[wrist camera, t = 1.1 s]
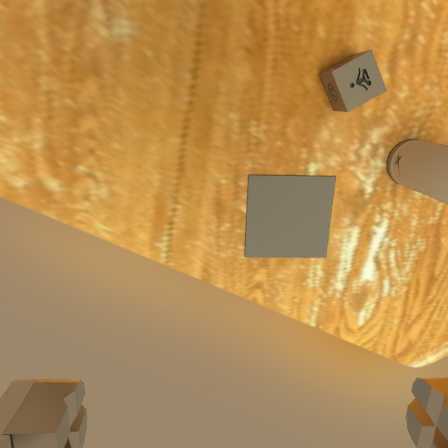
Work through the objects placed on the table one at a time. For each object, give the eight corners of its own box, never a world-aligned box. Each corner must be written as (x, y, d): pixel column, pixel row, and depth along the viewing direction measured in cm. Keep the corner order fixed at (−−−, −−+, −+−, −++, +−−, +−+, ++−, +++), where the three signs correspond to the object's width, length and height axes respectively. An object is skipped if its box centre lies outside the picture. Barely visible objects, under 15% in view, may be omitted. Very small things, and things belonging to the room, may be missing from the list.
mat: (248, 174, 52) (248, 175, 51) (334, 176, 52) (335, 176, 52) (244, 256, 55) (244, 257, 55) (325, 256, 56) (326, 257, 56)
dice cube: (368, 91, 49) (386, 90, 45) (333, 110, 50) (347, 111, 45) (354, 54, 48) (371, 49, 43) (318, 74, 48) (331, 71, 43)
